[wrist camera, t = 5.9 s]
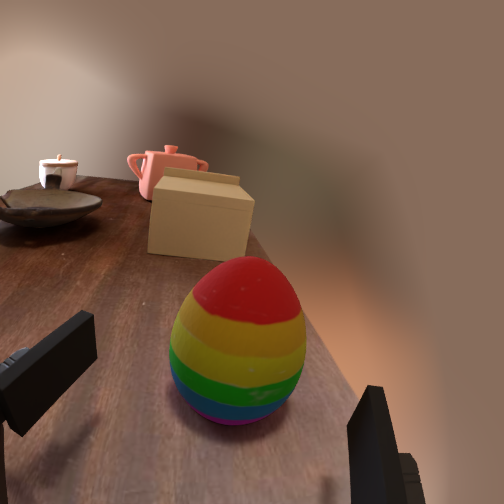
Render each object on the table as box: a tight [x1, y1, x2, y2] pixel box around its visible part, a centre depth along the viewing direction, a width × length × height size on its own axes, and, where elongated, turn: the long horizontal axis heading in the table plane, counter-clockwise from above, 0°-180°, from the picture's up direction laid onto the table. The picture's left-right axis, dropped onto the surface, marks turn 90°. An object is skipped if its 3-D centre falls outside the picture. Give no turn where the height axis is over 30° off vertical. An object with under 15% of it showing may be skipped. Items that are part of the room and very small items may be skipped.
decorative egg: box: [169, 256, 306, 425], centre depth 19 cm, size 8×8×10 cm
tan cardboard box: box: [147, 167, 255, 262], centre depth 50 cm, size 14×16×10 cm
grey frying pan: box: [0, 167, 102, 227], centre depth 46 cm, size 22×30×8 cm
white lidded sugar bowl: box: [40, 155, 78, 191], centre depth 69 cm, size 11×11×9 cm
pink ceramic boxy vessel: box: [127, 145, 209, 200], centre depth 82 cm, size 20×22×14 cm
